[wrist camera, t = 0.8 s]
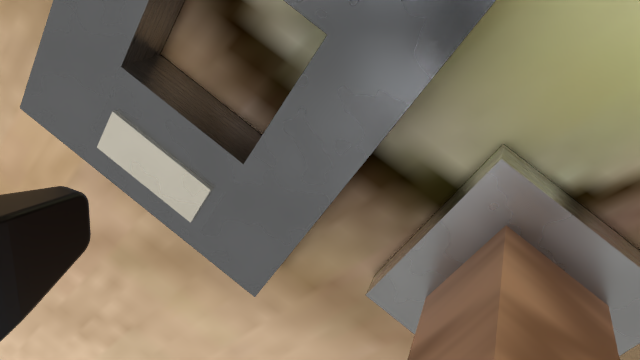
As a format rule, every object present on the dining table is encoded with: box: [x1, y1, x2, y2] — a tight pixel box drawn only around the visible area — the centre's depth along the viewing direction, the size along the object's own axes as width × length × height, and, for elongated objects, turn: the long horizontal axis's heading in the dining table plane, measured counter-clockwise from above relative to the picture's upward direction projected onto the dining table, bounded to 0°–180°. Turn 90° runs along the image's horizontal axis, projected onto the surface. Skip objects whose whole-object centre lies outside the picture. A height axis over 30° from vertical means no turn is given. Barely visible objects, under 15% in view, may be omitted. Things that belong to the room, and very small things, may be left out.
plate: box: [20, 0, 496, 297], centre depth 20 cm, size 13×16×3 cm
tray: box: [366, 144, 640, 356], centre depth 21 cm, size 8×8×2 cm
